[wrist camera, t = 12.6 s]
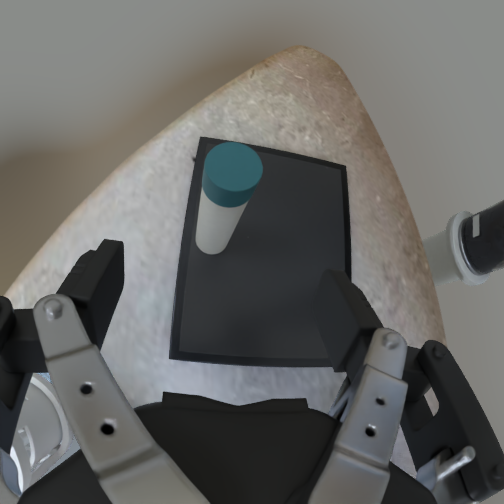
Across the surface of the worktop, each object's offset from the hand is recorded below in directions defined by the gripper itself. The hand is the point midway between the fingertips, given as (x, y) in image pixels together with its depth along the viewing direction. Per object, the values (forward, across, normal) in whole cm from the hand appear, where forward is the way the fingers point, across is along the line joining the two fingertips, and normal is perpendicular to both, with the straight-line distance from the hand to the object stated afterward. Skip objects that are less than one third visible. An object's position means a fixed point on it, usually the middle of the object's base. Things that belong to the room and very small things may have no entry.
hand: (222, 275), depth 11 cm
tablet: (+14, -6, +6) cm, 16 cm away
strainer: (+3, +12, +18) cm, 22 cm away
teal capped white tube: (+13, 0, +5) cm, 14 cm away
